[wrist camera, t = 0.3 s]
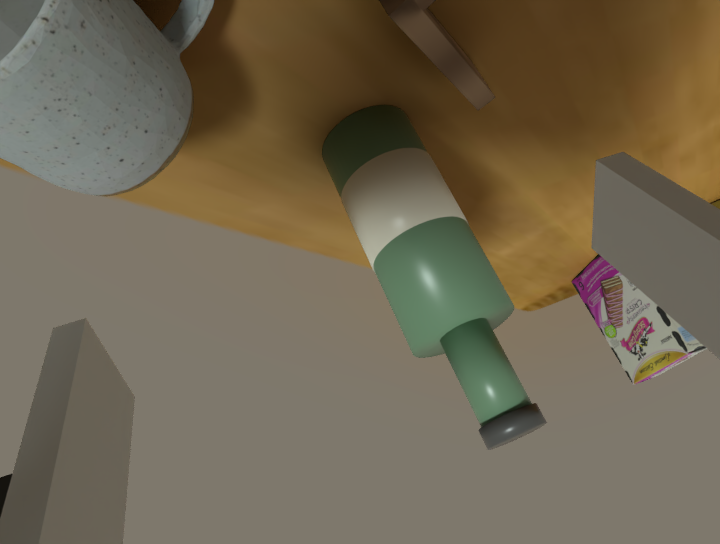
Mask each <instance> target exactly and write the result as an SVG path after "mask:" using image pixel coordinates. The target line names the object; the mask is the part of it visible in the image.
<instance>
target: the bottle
mask: <svg viewBox="0 0 720 544" xmlns="http://www.w3.org/2000/svg"><path fill="white" fill-rule="evenodd" d="M322 157H323V160H324V162H325V164H326V167H327V169H328V171H329V173H330V175H331V177H332V180H333V182H334V184H335V186H336V188H337V190H338V193H339V195H340V197H341V200H342V203H343V205H344V208H345V210H346V212H347V214H348V216H349V218H350V221H351V223H352V225H353V227H354V229H355V231H356V234H357V236H358V238H359V240H360V242H361V244H362V247H363V249H364V251H365V253H366V255H367V258H368V260H369V262H370V264H371V266H372V268H373V271H374V272H375V273H376V275H377V277H378V279H379V282H380V283H381V286H382V288H383V290H384V292H385V294H386V297H387V299H388V300H389V303H390V305H391V307H392V310H393V312H394V314H395V316H396V318H397V320H398V323H399V325H400V327H401V329H402V331H403V334H404V336H405V338H406V340H407V342H408V344H409V347H410V349H411V351H412V353H413V355H414V356H416V357H419V358H425V357H432V356H436V355H440V354H444V353H446V356H447V357H448V360H449V361H450V364H451V366H452V368H453V370H454V372H455V374H456V376H457V378H458V380H459V382H460V384H461V386H462V388H463V390H464V392H465V394H466V397H467V399H468V401H469V403H470V405H471V407H472V409H473V411H474V413H475V415H476V417H477V419H478V421H479V423H480V425H481V428H480V429H479V432H480V434H481V436H482V438H483V441H484V443H485V445H486V447H487V449H488V450H490V449H493V448H497V447H499V446H502V445H504V444H507V443H509V442H511V441H514V440H516V439H518V438H520V437H522V436H524V435H526V434H529V433H531V432H533V431H534V430H536V429H538V428H540V427H542V426H543V425H545V424H546V423H547V422H546V420H545V418H544V417H543V415H542V413H541V411H540V409H539V407H538V406H537V404H536V403H534V404H532V403H531V401H530V399H529V397H528V395H527V393H526V392H525V390H524V388H523V386H522V385H521V382H520V380H519V378H518V377H517V375H516V373H515V371H514V369H513V367H512V365H511V364H510V362H509V360H508V358H507V356H506V355H505V352H504V350H503V349H502V347H501V345H500V343H499V341H498V339H497V337H496V336H495V334H494V332H493V330H494V329H495V328H496V327H498V326H499V325H500V324H501V323H503V322H504V321H505V320H506V319H507V318H508V317H509V316H510V315H511V314H512V312H513V310H514V305H513V303H512V301H511V299H510V298H509V296H508V294H507V292H506V291H505V289H504V287H503V285H502V284H501V282H500V280H499V278H498V276H497V275H496V273H495V271H494V269H493V268H492V266H491V264H490V262H489V260H488V259H487V257H486V255H485V253H484V252H483V250H482V248H481V246H480V245H479V243H478V241H477V239H476V237H475V236H474V234H473V232H472V230H471V229H470V227H469V223H468V221H467V220H466V218H465V216H464V214H463V213H462V211H461V209H460V207H459V206H458V204H457V202H456V200H455V198H454V197H453V195H452V193H451V191H450V190H449V188H448V186H447V184H446V183H445V181H444V179H443V177H442V175H441V174H440V172H439V170H438V168H437V167H436V165H435V163H434V161H433V160H432V158H431V156H430V155H429V154H428V152H427V151H426V149H425V147H424V145H423V143H422V142H421V140H420V138H419V136H418V135H417V133H416V131H415V129H414V128H413V126H412V124H411V122H410V120H409V119H408V117H407V115H406V114H405V113H404V112H403V111H402V110H401V109H399V108H397V107H394V106H389V105H378V106H372V107H368V108H365V109H362V110H360V111H357V112H355V113H353V114H351V115H350V116H348V117H347V118H345V119H344V120H342V121H341V122H340V123H339V124H338V125H337V126H335V127H334V129H333V130H332V131H331V132H330V133H329V135H328V136H327V138H326V140H325V142H324V145H323V149H322Z"/></svg>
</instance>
